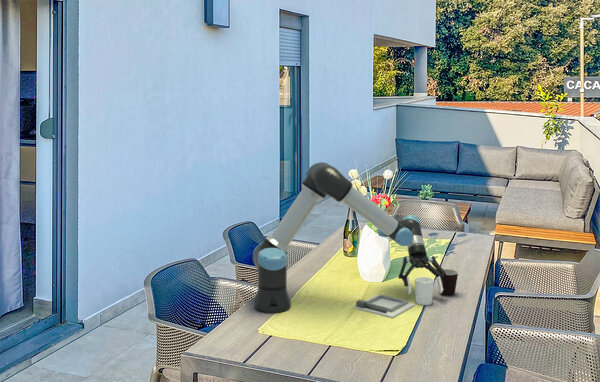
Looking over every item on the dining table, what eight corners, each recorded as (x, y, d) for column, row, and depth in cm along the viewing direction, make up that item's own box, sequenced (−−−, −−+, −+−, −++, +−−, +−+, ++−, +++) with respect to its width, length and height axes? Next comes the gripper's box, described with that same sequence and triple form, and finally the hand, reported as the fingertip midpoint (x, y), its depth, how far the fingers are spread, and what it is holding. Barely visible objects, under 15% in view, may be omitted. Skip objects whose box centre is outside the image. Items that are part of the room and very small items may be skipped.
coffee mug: (457, 297, 270) (458, 275, 268) (437, 296, 272) (438, 274, 270) (456, 289, 281) (457, 267, 280) (436, 288, 283) (437, 266, 281)
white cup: (434, 306, 260) (435, 282, 258) (415, 305, 260) (416, 282, 258) (431, 299, 268) (432, 277, 266) (412, 299, 268) (413, 276, 266)
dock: (354, 308, 257) (354, 301, 256) (377, 296, 271) (377, 290, 270) (392, 318, 246) (392, 311, 245) (414, 305, 260) (414, 299, 259)
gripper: (441, 251, 278) (452, 295, 266) (386, 253, 275) (394, 297, 263) (446, 243, 272) (457, 287, 260) (390, 244, 269) (398, 289, 257)
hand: (425, 292), depth 261 cm, fingers open, 13 cm apart
